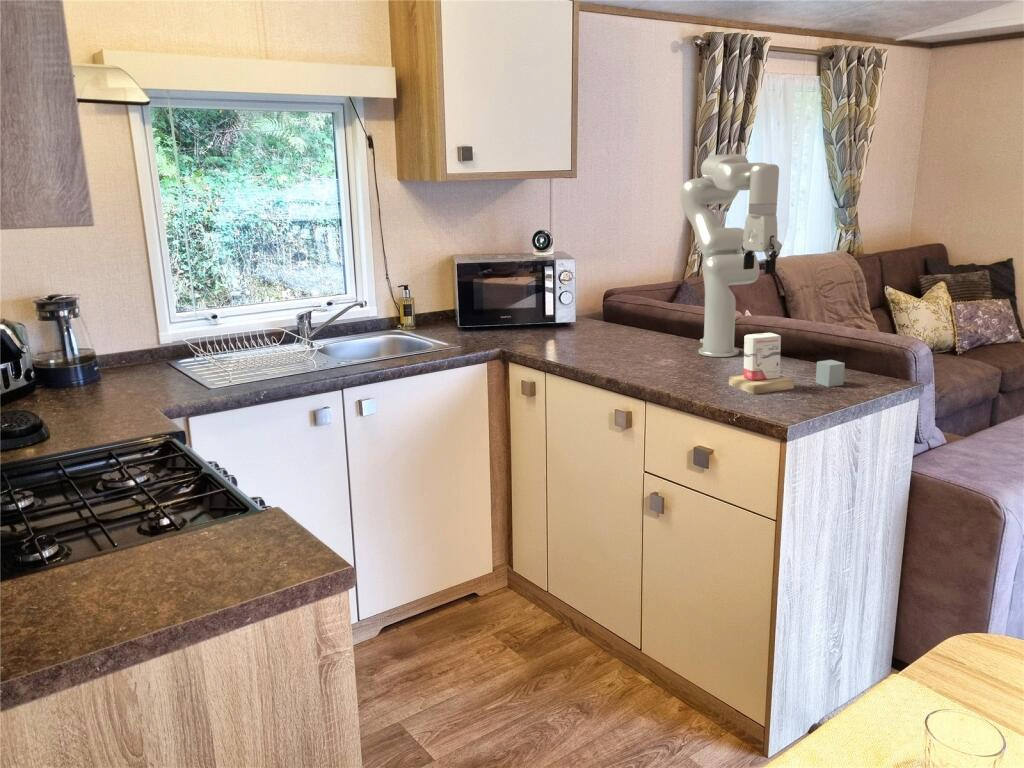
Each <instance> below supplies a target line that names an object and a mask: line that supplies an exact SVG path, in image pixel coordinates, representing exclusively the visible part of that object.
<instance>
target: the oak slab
mask: <svg viewBox="0 0 1024 768" xmlns="http://www.w3.org/2000/svg"><path fill="white" fill-rule="evenodd" d="M728 385H729V386H730V385H731V386H730V387H733V386H734V387H733V388H736V389H739V390H741V391H743V392H747V393H750V394H751V395H756V394H757V395H758V394H764V393H766V394H767V393H771V392H772V393H773V392H779V391H785V390H793V389H795V379H793V378H790V377H787V376H783V375H781V374H780V377H779V378H771V379H762V380H750V379H747V378H744V374H740V375H732V376H728Z"/></svg>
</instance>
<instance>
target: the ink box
mask: <svg viewBox="0 0 1024 768" xmlns="http://www.w3.org/2000/svg"><path fill="white" fill-rule="evenodd" d="M743 339H744V340H743V341H744V342H743V343H744V344H743V375H744V378H747V379H750V380H762V379H771V378H779V377H780V375H781V344H782V343H781V341H782V340H781V339H782V335H779V334H777V333H773V332H763V333H752V334H750V333H749V334H746V335H744V338H743Z"/></svg>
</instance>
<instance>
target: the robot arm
mask: <svg viewBox="0 0 1024 768" xmlns="http://www.w3.org/2000/svg"><path fill="white" fill-rule="evenodd" d="M700 173H701V176H702V177H697V178H692V179H688V180H687V181H685V182H684V183H683V185H682V186H681V189H680V203H681V207H682V210H683V212H684V214H685V216H686V218H687V219H688V221H689V222H690V225H691V226H692V228H693V232H694V236H695V238H696V240H697V244H698V247H699V250H700V252H701V254H702V256H704V257H705V258H706V259H705V261H704V262H703V264H702V277H703V285H704V324H703V326H704V328H703V337H702V338H700V339H699V343H700V344H702V347H699V349H698V354H700V355H702V356H706V357H712V358H728V357H735V356H737V355H739V353H740V350H739V349H738V348H736V347H735V330H736V329H735V328H736V303H737V302H736V297H735V295H734V293H733V292H732V290H731V289H730V287H729V286H734V285H735V286H736V285H737V286H738V285H749V284H752V283H755V282H756V281H758V278H759V276H760V263H759V260H758V257H757V253H764V256H765V258H766V259H765V260H764V270H763V273H764V274H765V275H772V274H775V273H776V265H777V264H776V262H777V259H778V258H779V256H780V254H781V250H782V247H783V244H782V243H781V242H780V241H779V240H778V216H777V211H778V210H777V209H778V193H779V181H780V180H779V179H780V167H779V166H778V164H774V163H766V162H749V160H748V158H747V157H746V156H745V155H743V154H739V153H735V154H734V153H732V154H714V155H710V156H708V157H706V158H705V160H703V162H702V163H701V167H700ZM740 191H749V198H748V213H747V215H746V217H745V221H744V227H743V228H742V227H724V226H722V225H721V223H720V219H719V217H718V216H717V214H716V213H715V212H714V211H713V210H712V209H711V208H709V207H708V206H707V205H718V204H719V205H720V204H722V205H723V204H728V203H730V202H731V203H732V202H733V201H734V199H735V198H736V197H737V195H738V193H739V192H740Z"/></svg>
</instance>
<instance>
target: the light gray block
mask: <svg viewBox="0 0 1024 768" xmlns="http://www.w3.org/2000/svg"><path fill="white" fill-rule="evenodd" d="M845 364H846V363H845V362H843V361H842V362H841V361H838V360H835V359H834V360H833V359H826V360H820V361H816V368H815V369H816V371H815V384H818V385H821V386H825V387H828V388H830V387H836V386H843V385H844V382H845V381H844V379H845Z"/></svg>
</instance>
